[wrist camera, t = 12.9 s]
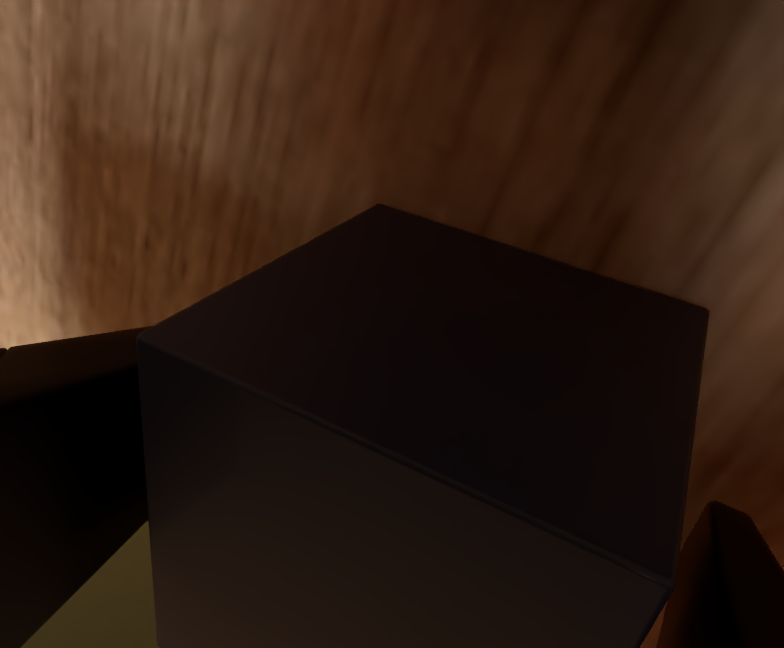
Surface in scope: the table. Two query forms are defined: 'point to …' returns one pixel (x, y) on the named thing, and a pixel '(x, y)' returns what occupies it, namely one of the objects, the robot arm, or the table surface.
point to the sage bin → (108, 605)
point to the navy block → (417, 448)
